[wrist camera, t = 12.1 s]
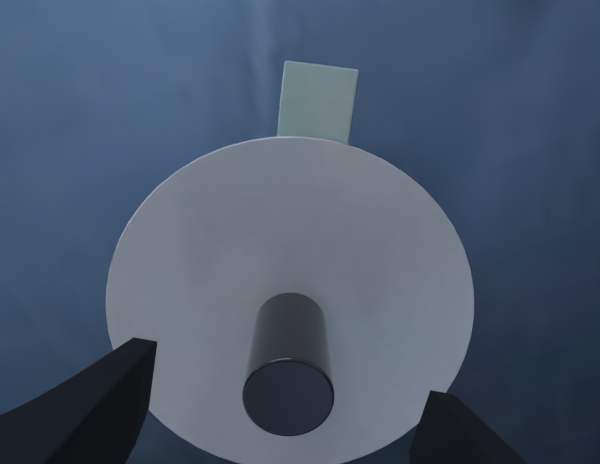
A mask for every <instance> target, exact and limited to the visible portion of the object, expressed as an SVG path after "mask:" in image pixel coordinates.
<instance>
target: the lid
mask: <svg viewBox="0 0 600 464" xmlns="http://www.w3.org/2000/svg"><path fill="white" fill-rule="evenodd" d="M106 317H107V325H108V332H109V336H110V340H111V344H112V347H113V350H115V349H116V348H118V347H119V346H121V345H122V344H124V343H125V342H127V341H129V340H130V339H132V338H133V337H135V338H141V339H146V340H152V341H158V342H157V350H156V358H155V365H154V373H153V380H152V388H151V396H150V403H149V409H148V410H149V411H150V412H151V413H152V414H153V415H154V416H155V417H156V418H157V419H158V420H159V421H160V422H161V423H163V424H164V425H165V426H166V427H168V428H169V429H170V430H172V431H173V432H174V433H175V434H177V435H178V436H179V437H181V438H183V439H184V440H186V441H188V442H189V443H191V444H193V445H194V446H196V447H198V448H200V449H202V450H204V451H207V452H209V453H211V454H213V455H215V456H218V457H221V458H224V459H227V460H230V461H233V462H236V463H240V464H342V463H345V462H348V461H351V460H354V459H357V458H361V457H363V456H366V455H368V454H370V453H372V452H375V451H377V450H379V449H381V448H383V447H385V446H387V445H388V444H390V443H392V442H393V441H395V440H397V439H398V438H400V437H401V436H403V435H404V434H405V433H407V432H408V431H409V430H411V429H412V428H413V427H415V426H416V425H417V424H418V423H419V421H420V419H421V416H422V413H423V410H424V407H425V404H426V401H427V398H428V395H429V392H430V390H433V391H438V392H444V393H446V392H447V390H448V389H449V387H450V385H451V384H452V382H453V381H454V379H455V377H456V376H457V374H458V371H459V369H460V367H461V364H462V362H463V360H464V358H465V355H466V352H467V348H468V345H469V341H470V338H471V333H472V326H473V319H474V288H473V281H472V275H471V269H470V266H469V262H468V259H467V256H466V253H465V249H464V247H463V245H462V242H461V240H460V238H459V236H458V234H457V232H456V230H455V228H454V226H453V224H452V223H451V222H450V220H449V219H448V217H447V216H446V214H445V213H444V211H443V210H442V208H441V207H440V206H439V204H438V203H437V202H436V201H435V200H434V199H433V198H432V197H431V196H430V195H429V194H428V192H427V191H426V190H425V189H424V188H423V187H422V186H420V185H419V184H418V183H417V182H416V181H414V180H413V179H412V178H411V177H409V176H408V175H407V174H406V173H405V172H403V171H402V170H400V169H399V168H397V167H395V166H394V165H392V164H391V163H389V162H387V161H386V160H384V159H382V158H381V157H379V156H377V155H374V154H372V153H370V152H368V151H365V150H363V149H361V148H358V147H356V146H353V145H349V144H346V143H342V142H339V141H335V140H331V139H325V138H318V137H311V136H296V135H277V136H269V137H261V138H253V139H249V140H245V141H241V142H237V143H234V144H230V145H226V146H224V147H221V148H219V149H217V150H214V151H212V152H209V153H207V154H205V155H202V156H201V157H199V158H197V159H196V160H194V161H192V162H191V163H189V164H187V165H185V166H184V167H182V168H180V169H179V170H177V171H176V172H175V173H174V174H172V175H171V176H170V177H169V178H167V179H166V180H165V181H164V182H162V183H161V184H160V185H159V186H157V188H156V189H155V190H154V191H153V192H152V193H151V194H150V195H149V196H148V197H147V198H146V199H145V200H144V201H143V202H142V203H141V205H140V206H139V208H138V209H137V211H136V212H135V213H134V215H133V216H132V218H131V219H130V221H129V222H128V223H127V225H126V227H125V229H124V231H123V233H122V235H121V237H120V239H119V241H118V243H117V246H116V249H115V252H114V255H113V258H112V261H111V264H110V269H109V275H108V281H107V287H106Z"/></svg>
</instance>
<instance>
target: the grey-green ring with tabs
mask: <svg viewBox="0 0 600 464" xmlns="http://www.w3.org/2000/svg"><path fill="white" fill-rule="evenodd" d="M358 77H359V70H357V69H351V68H344V67H336V66H328V65H320V64H313V63H305V62H297V61H289V60H286V61H285V62H284V67H283V77H282V87H281V97H280V106H279V116H278V126H277V135H296V136H311V137H318V138H325V139H331V140H335V141H339V142H342V143H346V144H349V137H350V131H351V124H352V117H353V111H354V104H355V97H356V90H357V84H358Z"/></svg>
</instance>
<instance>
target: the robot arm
mask: <svg viewBox="0 0 600 464" xmlns="http://www.w3.org/2000/svg"><path fill="white" fill-rule="evenodd" d="M157 342H158V341H152V340H146V339H141V338H135V337H133V338H132V339H130V340H129V341H127V342H125V343H124V344H122V345H121V346H119V347H118V348H116V349H115V350H113V351H112V352H110V353H109V354H107V355H106V356H104V357H103V358H101V359H100V360H98V361H97V362H95V363H94V364H92V365H91V366H89V367H87V368H86V369H84V370H83V371H81V372H80V373H78V374H76V375H75V376H73V377H72V378H70V379H68V380H67V381H65V382H63V383H61V384H60V385H58V386H56V387H54V388H53V389H51V390H49V391H47V392H46V393H44V394H42V395H40V396H39V397H37V398H35V399H33V400H31V401H29V402H27V403H25V404H23V405H21V406H19V407H17V408H15V409H13V410H11V411H9V412H6V413H4V414H2V415H0V464H125V463H126V461H127V459H128V457H129V455H130V453H131V451H132V449H133V447H134V445H135V443H136V440H137V438H138V435H139V433H140V430H141V428H142V425H143V422H144V420H145V417H146V414H147V412H148V409H149V403H150V396H151V388H152V380H153V373H154V365H155V358H156V350H157ZM409 456H410V462H411V464H528V463H527V462H526V461H525V460H524V459H523V458H522V457H520V456H519V455H518V454H517V453H516V452H515V451H514V450H513V449H512V448H511V447H510V446H508V445H507V444H506V443H505V442H504V441H503V440H502V439H501V438H500V437H499V436H498V435H497V434H496V433H495V432H494V431H493V430H491V429H490V428H489V427H488V426H487V425H486V424H485V423H484V422H483V421H482V420H481V419H480V418H479V417H478V416H477V415H476V414H475V413H474V412H473V411H471V410H470V409H469V408H468V407H467V406H466V405H465V404H464V403H463V402H462V401H460V400H459V399H458V398H457V397H456V396H454V395H453V394H450V393H444V392H438V391H433V390H430V392H429V395H428V398H427V401H426V404H425V407H424V410H423V413H422V416H421V419H420V421H419V424H418V427H417V430H416V433H415V436H414V439H413V442H412V445H411V448H410V451H409Z"/></svg>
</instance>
